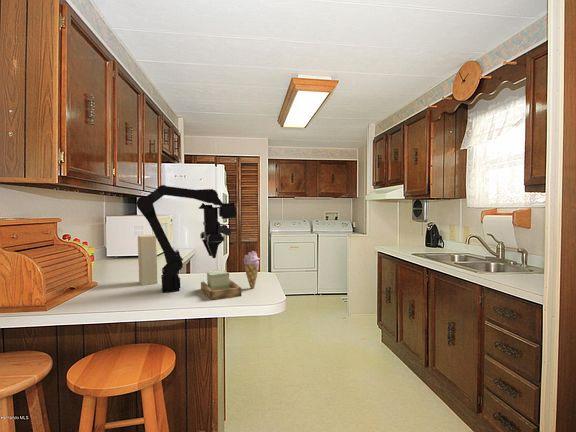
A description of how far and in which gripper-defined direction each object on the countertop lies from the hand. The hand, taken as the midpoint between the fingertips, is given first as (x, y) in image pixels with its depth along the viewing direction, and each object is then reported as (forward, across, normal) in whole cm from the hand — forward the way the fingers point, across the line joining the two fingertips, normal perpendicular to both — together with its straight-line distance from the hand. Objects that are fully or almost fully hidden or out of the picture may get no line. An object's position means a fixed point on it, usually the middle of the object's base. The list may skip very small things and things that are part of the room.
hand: (212, 257), depth 146 cm
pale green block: (+11, -9, 0) cm, 14 cm away
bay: (+12, -12, 0) cm, 17 cm away
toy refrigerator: (+12, +20, +24) cm, 34 cm away
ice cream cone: (+12, -13, -13) cm, 22 cm away
